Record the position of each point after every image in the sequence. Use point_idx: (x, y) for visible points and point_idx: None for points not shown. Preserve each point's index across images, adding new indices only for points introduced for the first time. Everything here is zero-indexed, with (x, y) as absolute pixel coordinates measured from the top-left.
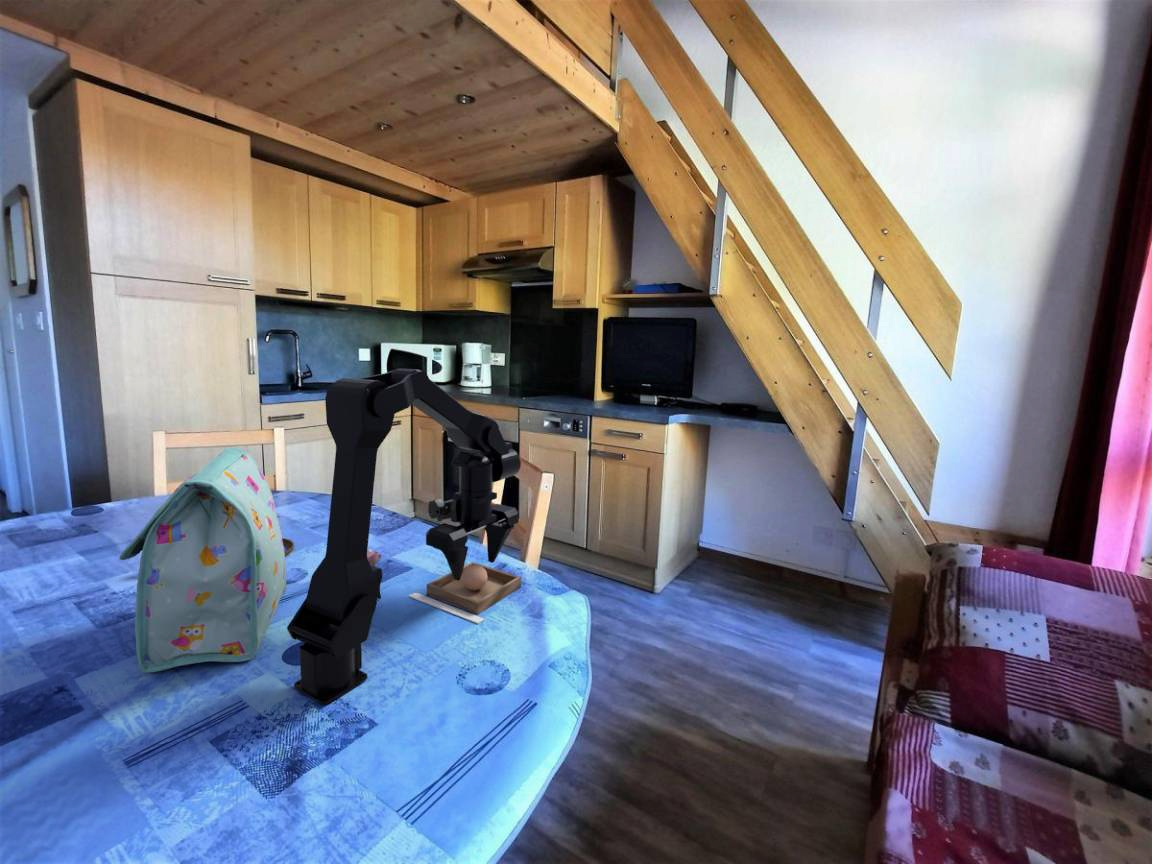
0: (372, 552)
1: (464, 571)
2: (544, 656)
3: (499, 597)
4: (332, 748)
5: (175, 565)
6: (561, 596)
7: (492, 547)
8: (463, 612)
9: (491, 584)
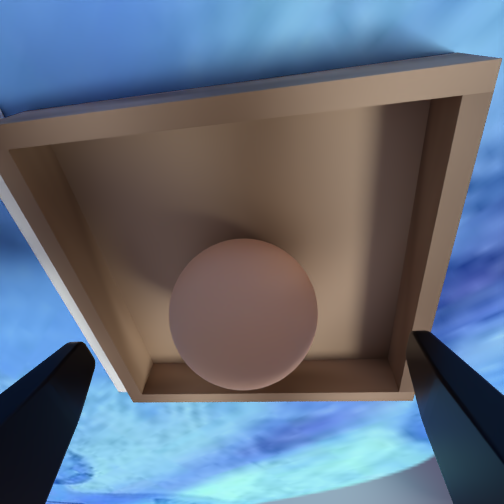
0: None
1: (185, 307)
2: (167, 490)
3: None
4: None
5: None
6: (405, 445)
7: (470, 474)
8: None
9: (336, 290)
